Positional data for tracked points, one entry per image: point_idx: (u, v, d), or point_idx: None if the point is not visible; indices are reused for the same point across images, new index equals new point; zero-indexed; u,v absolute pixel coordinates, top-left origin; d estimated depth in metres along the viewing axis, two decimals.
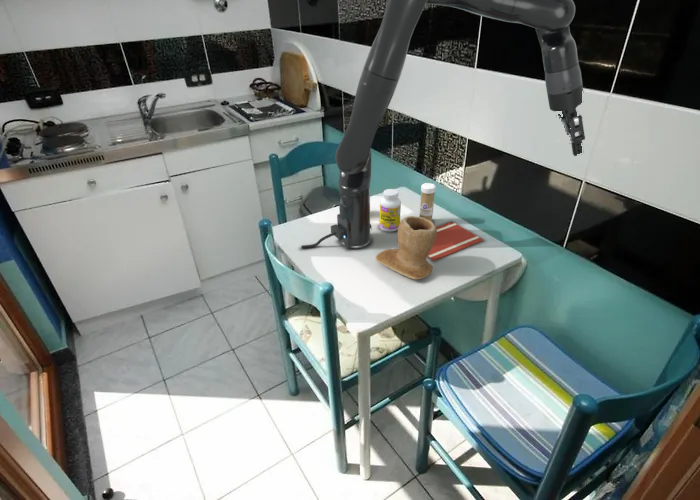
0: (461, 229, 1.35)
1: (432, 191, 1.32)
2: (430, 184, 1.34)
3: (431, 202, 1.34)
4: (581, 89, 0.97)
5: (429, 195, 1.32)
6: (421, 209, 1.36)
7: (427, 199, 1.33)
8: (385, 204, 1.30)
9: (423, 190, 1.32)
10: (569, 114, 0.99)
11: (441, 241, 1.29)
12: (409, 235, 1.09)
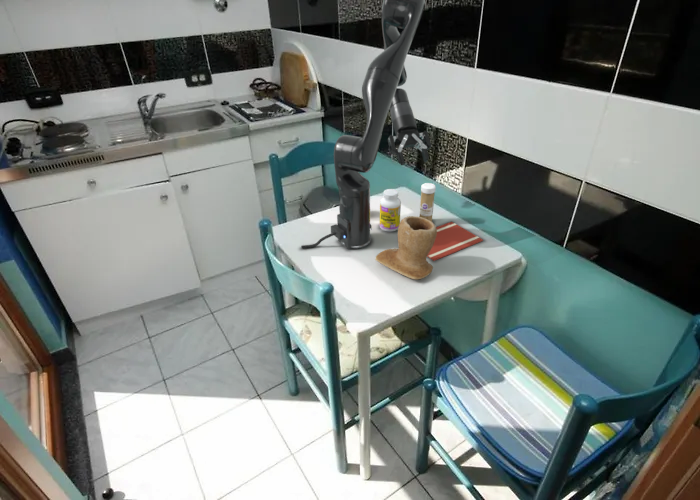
0: (461, 229, 1.35)
1: (432, 191, 1.32)
2: (430, 184, 1.34)
3: (431, 202, 1.34)
4: None
5: (429, 195, 1.32)
6: (421, 209, 1.36)
7: (427, 199, 1.33)
8: (385, 204, 1.30)
9: (423, 190, 1.32)
10: None
11: (441, 241, 1.29)
12: (409, 235, 1.09)
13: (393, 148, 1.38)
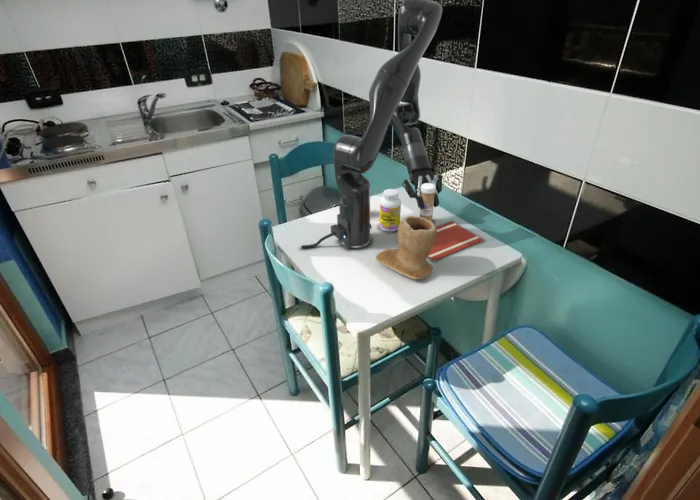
0: (461, 229, 1.35)
1: (432, 191, 1.32)
2: (430, 184, 1.34)
3: (431, 202, 1.34)
4: None
5: (429, 195, 1.32)
6: (421, 209, 1.36)
7: (427, 199, 1.33)
8: (385, 204, 1.30)
9: (423, 190, 1.32)
10: None
11: (441, 241, 1.29)
12: (409, 235, 1.09)
13: (412, 192, 1.34)
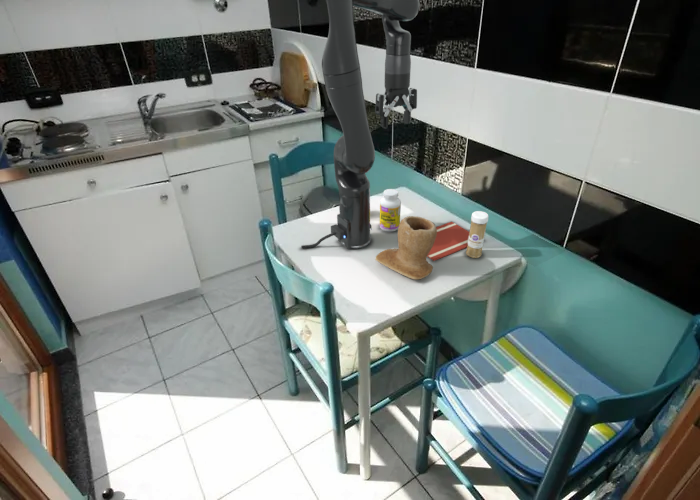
0: (461, 229, 1.35)
1: (485, 221, 1.15)
2: (481, 212, 1.17)
3: (483, 233, 1.17)
4: None
5: (481, 225, 1.16)
6: (470, 240, 1.19)
7: (479, 229, 1.16)
8: (385, 204, 1.30)
9: (474, 220, 1.15)
10: None
11: (441, 241, 1.29)
12: (409, 235, 1.09)
13: (381, 112, 1.25)
